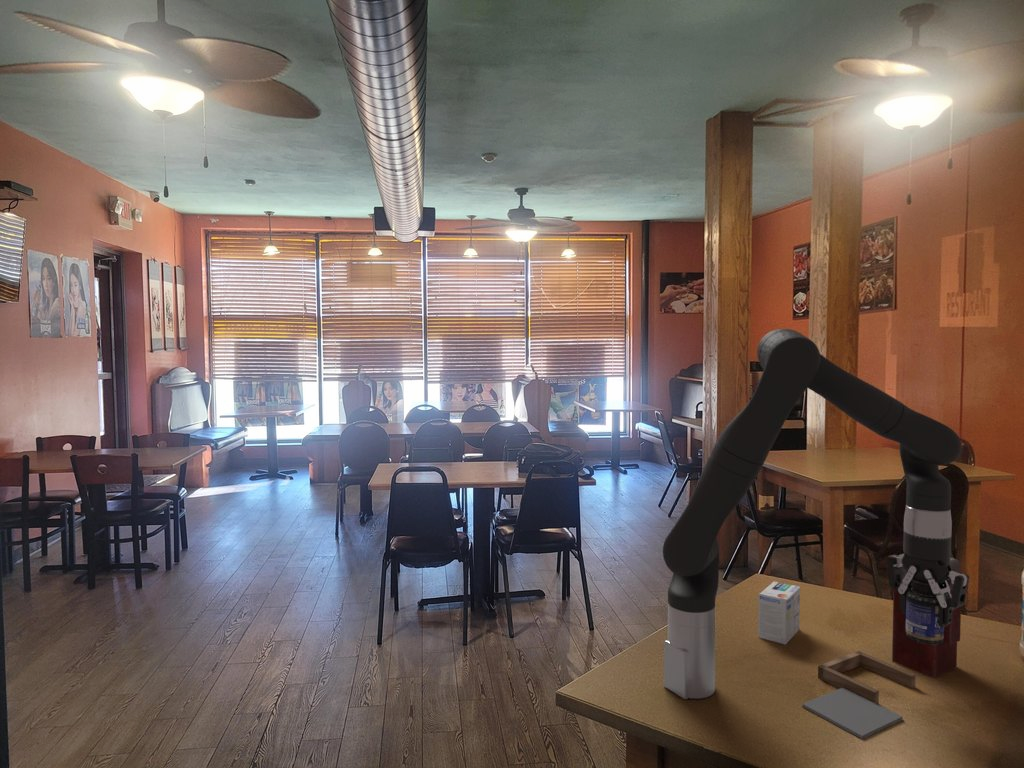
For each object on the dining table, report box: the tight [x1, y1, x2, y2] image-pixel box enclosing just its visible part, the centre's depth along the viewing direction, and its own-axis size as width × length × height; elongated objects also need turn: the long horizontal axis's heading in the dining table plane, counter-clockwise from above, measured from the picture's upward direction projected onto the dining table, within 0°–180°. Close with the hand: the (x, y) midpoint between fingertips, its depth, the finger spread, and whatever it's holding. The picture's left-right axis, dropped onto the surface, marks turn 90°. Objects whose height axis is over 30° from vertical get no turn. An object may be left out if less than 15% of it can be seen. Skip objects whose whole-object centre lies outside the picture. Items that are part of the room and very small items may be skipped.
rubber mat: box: [802, 688, 903, 740], centre depth 124 cm, size 12×12×1 cm
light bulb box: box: [757, 581, 801, 645], centre depth 158 cm, size 11×7×11 cm, turn 141°
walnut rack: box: [817, 650, 917, 705], centre depth 135 cm, size 13×12×2 cm
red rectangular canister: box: [891, 553, 962, 679], centre depth 141 cm, size 9×11×28 cm
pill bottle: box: [906, 579, 944, 645], centre depth 124 cm, size 6×6×11 cm
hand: (924, 618), depth 124 cm, fingers closed on pill bottle, 6 cm apart
